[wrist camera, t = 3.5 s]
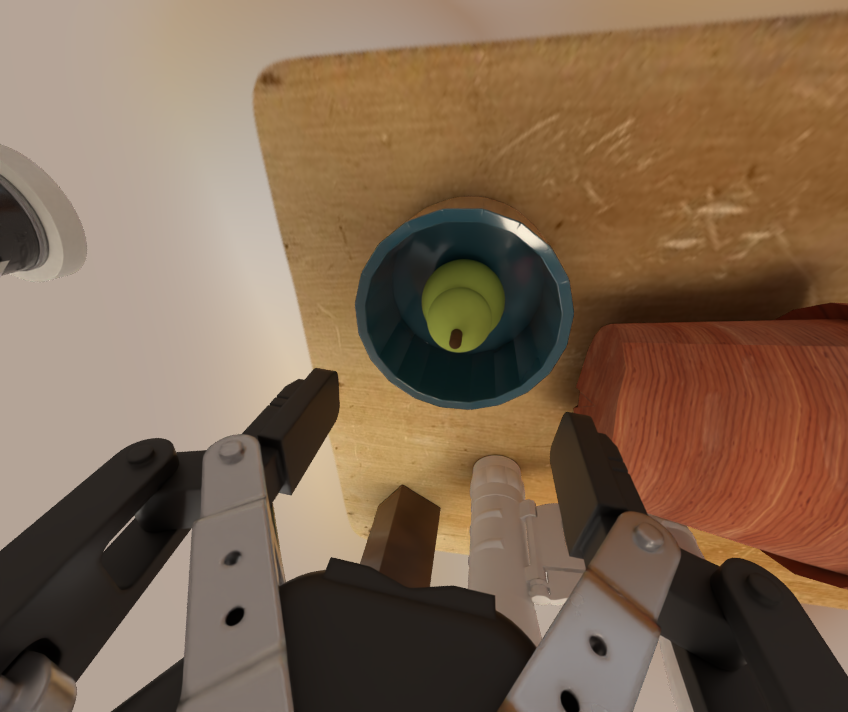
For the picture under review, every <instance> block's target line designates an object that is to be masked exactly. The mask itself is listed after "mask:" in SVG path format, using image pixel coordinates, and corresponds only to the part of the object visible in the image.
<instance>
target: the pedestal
mask: <svg viewBox="0 0 848 712" xmlns="http://www.w3.org/2000/svg"><path fill="white" fill-rule="evenodd" d="M439 516H440V508H439V507H438V506H436V505H434V504H433V503H431V502H430V501H428V500H426V499H425V498H423V497H421V496H420V495H418V494H416V493H415V492H413V491H412V490H410V489H408V488H407V487H405V486H403V485H402V486H401V487H399V488H398V489H397V490H396V491H395V492H394V493H393V494H392V495H390V496H389V497H388V498H387V499H386V500H385V501H384V502H383V503H381V504H380V505H379V506H378V509H377V512H376V515H375V518H374V522H373V525H372V528H371V531H370V534H369V537H368V540H367V543H366V547H365V550H364V553H363V556H362V559H361V562H360V564H362V565H367V566H370V567H372V568H374V569H376V570H377V571H379V572H381V573H383V574H384V575H386V576H388V577H390V578H391V579H393V580H395V581H397V582H399V583H400V584H402V585H404V586H406V587H409V588H420V587H430V582H431V574H432V567H433V560H434V552H435V545H436V538H437V531H438V523H439Z"/></svg>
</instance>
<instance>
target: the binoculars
mask: <svg viewBox="0 0 848 712" xmlns="http://www.w3.org/2000/svg"><path fill="white" fill-rule="evenodd" d="M470 496H471V499H472V501H471V513H472V514H471V526H470V554H469V559H468V565H469V578H468V589H470V590H475V591H479V592H483V593H488V594H492V595H495V604H496V611H498V612H500V613H502V614H503V615H505V616H506V617H507V618H509V619H510V620H512V621H513V622H514V623H515V624H516V625H517V626H518V627H519V628H521V629H522V630H523V632H524V633H525V634H526V635H527V636H528V637H529V638H530V639H531V640H532V642H533V643H534V644H535V646H536V647H538V645H539V643H540V642H541V640H542V637H541V633H540V629H539V625H538V620H537V616H536V611H535V609H534V603H535V604H537V605H547V604H550V603H551V605H561V604H564V603H565V602H566V600H567V599H568V597H569V595H570V594H571V592H572V591H573V589H574V587H575V586H576V584H577V583H578V581H579V579H580V578H581V576H582V575H583V573H584V571H585V570H586V567H585V563H584V559H579V558H575V557H570V556H569V552H568V547H567V543H566V544H565V542H566V538H565V539H564V537H565V533H564V534H563V532H564V528H563V523H562V518H561V513H560V508H559V503H551V504H545V505H540V506H536V504H535V502H534V501H533V500H529V499H528V500H525V489H524V484H523V482H522V479H521V471H520V468H519V466H518V465H517V463H515V462H514V461H513V460H511V459H510V458H507V457H504V456H499V455H491V456H486V457H483V458H481V459H480V460H478V461H477V462H476V463H475V465H474V467H473V478H472V480H471V486H470ZM647 514H648V513H647ZM648 516H650V517H652V518H653V519H655V520H657V521H658V522H659V523H661V524H662V525H663V526H664V527H666V528H667V529H668V530H669V532H670V533H671V534H672V535H673V536H674V538H675V539H676V541H677V543H678V545H679V547H680V548H682V549H684V550H685V551H687V552H690V553H692V554H694V555H696V556H698V557H700V558H702V559H705V558H704V556H703V554H702V553H701V551H700V549H699V547H698V545H697V543H696V539H695V537H694V536H693V534H692V532H691V531H690V530H689V529H688V527H687V526H686V525H683V524H680V523H676V522H673V521H670V520H667V519H664V518H661V517H658V516H655V515H651V514H648ZM562 528H563V529H562ZM526 531H527V533H526ZM527 541H528V542H527ZM566 547H567V548H566ZM528 550H529V552H528ZM529 560H530V562H529ZM545 572H547V579H548V583H547V581H546V573H545ZM548 591H549V592H548ZM549 593H550V595H549ZM659 644H660V648H661V652H662V657H663V661H664V666H665V670H666V674H667V679H668V683H669V687H670V691H671V695H672V697H673V700H674V703H675V706H676V709H677V712H694V711H693V708H692V705H691V702H690V699H689V696H688V693H687V690H686V687H685V684H684V681H683V678H682V675H681V672H680V669H679V666H678V663H677V660H676V657H675V654H674V651H673V647H672V644H671V641H670V640H668V639H666V638H664V637H662V636H661V635H660V637H659Z"/></svg>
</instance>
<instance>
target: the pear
mask: <svg viewBox="0 0 848 712" xmlns="http://www.w3.org/2000/svg"><path fill="white" fill-rule="evenodd" d="M504 306H505V294H504V290H503V286H502V284H501V282H500V280H499V278H498V276H497V275H496V274H495V273H494V272H493V271H492V270H491V269H490V268H489V267H487V266H486V265H484V264H482V263H480V262H478V261H475V260H470V259H458V260H453V261H451V262H448V263H446V264H444V265H442V266H440V267H439V268H438V269H436V270H435V271H434V272H433V274H432V275H431V276H430V277H429V279H428V280H427V282H426V284H425V286H424V290H423V293H422V310H423V314H424V317H425V319H426V321H427V325H428V330H429V332H430V335H431V336H432V338H433V339H434V341H435V342H436V343H437V344H438V345H439V346H441V347H442V348H444V349H446V350H448V351H452V352H467V351H470V350H473V349H475V348H477V347H478V346H479V345H481V344H482V343H483V342H484V341H485V339H486V338H487V336H488V335H489V333H490V332H491V331H492V330H493V329H494V328H495V327H496V326H497V324H498V323H499V321H500V319H501V317H502V315H503V311H504Z"/></svg>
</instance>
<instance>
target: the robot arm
mask: <svg viewBox="0 0 848 712" xmlns="http://www.w3.org/2000/svg"><path fill="white" fill-rule="evenodd" d="M48 255H49V243H48V238H47V235H46V231H45V229H44V226H43V224H42V222H41V220H40V218H39V217H38V215H37V213H36V212H35V210H34V209H33V207H32V206H31V204H30V203H29V202H28V200H27V199H26V198H25V197H24V196H23V195H22V193H21V192H20V191H19V190H18V189H17V188H16V187H15V186H14V185H13V184H12V183H11V182H9V181H8V180H7V179H6V178H5V177H3V176H2V175H1V174H0V276H2V275H6V274H11V273H15V272H19V271H29V270H34V269H37V268H40V267H41V266H43V265H44V264H45V262H46V261H47V259H48ZM339 407H340V402H339V383H338V374H337V372H336V371H331V370H325V369H320V368H315V369H313V371H312V372H311V373H310V374H309V375H308V376H307V378H306V379H305V380H302V379H298V380H296V381H294V382H293V383H291V384H289V385H287V386H285V388H284V389H283V390H282V391H281V392H280V393H279V394H278V395H277V398H274V399H273V401H272V402H271V403H270V405H268V406H267V407H266V408H265V409H264V410H263V411H262V413H261V414H260V415H259V416H258V417H257V418H256V419H255V420H254V421H253V422H252V424H251V425H250V426H249V427H248V428H247V429H246V430H245V431H244V432H243V433H242V434H238V435H232V436H228V437H225V438H223V439H221V440H219V441H217V442H215V443H214V444H213V445H211V446H210V447H209V448H208V449H207V450H204V451H189V452H176V451H175V448H174V446H173V444H172V443H171V442H170V441H169V440H166V439H162V438H153V439H147V440H143V441H140V442H137V443H134V444H131V445H130V446H128V447H126V448H124V449H123V450H121V451H120V452H119V453H117V454H116V455H115V456H113V457H112V458H111V459H110V460H109V461H107V462H106V463H105V464H104V465H103V466H102V467H100V468H99V469H98V470H97V471H95V472H94V473H93V474H92V475H91V476H89V477H88V478H87V479H86V480H85V481H83V482H82V483H81V484H80V485H79V486H77V487H76V488H75V489H74V490H73V491H72V492H70V493H69V494H68V495H67V496H65V497H64V498H63V499H62V500H61V501H59V502H58V503H57V504H56V505H55V506H54V507H52V508H51V509H50V510H49V511H48V512H46V513H45V514H44V515H43V516H42V517H40V518H39V519H38V520H37V521H36V522H34V524H32V525H31V526H30V527H28V528H27V529H26V530H25V531H24V532H22V533H21V534H20V535H19V536H18V537H17V538H15V539H14V540H13V541H12V542H10V543H9V544H8V545H7V546H6V547H4V548H3V549H2V550H1V551H0V712H72V710H73V707H74V704H75V701H76V695H77V687H76V682H77V680H78V679H79V678H80V676H81V675H82V674H83V672H84V671H85V670H86V668H87V667H88V666H89V664H90V663H91V662H92V660H93V659H94V658H95V656H96V655H97V654H98V652H99V651H100V650H101V648H102V647H103V646H104V644H105V643H106V642H107V640H108V639H109V638H110V636H111V635H112V634H113V632H114V631H115V630H116V628H117V627H118V626H119V624H120V623H121V622H122V620H123V619H124V618H125V616H126V615H127V614H128V612H129V611H130V610H131V608H132V607H133V606H134V604H135V603H136V601H137V600H138V599H139V598H140V596H141V595H142V594H143V592H144V591H145V590H146V588H147V587H148V586H149V584H150V583H151V582H152V580H153V579H154V578H155V576H156V575H157V574H158V572H159V571H160V570H161V568H162V567H163V566H164V564H165V563H166V562H167V560H168V559H169V558H170V556H171V555H172V553H173V552H174V551H175V549H176V548H177V547H178V546H179V544H180V543H181V542H182V540H183V539H184V538H185V536H186V535H187V534H188V532H189V531H190V530H191V528H192V537H191V555H190V570H189V586H188V603H187V620H186V636H185V652H184V657H183V658H182V659H181V660H179V661H178V662H177V663H175V664H174V665H173V666H171V667H170V668H169V669H168V670H166V671H165V672H163V673H162V674H161V675H159V676H158V677H157V678H155V679H154V680H153V681H151V682H150V683H149V684H147V685H146V686H145V687H143V688H142V689H141V690H139V691H138V692H137V693H135V694H134V695H133V696H131V697H130V698H129V699H127V700H126V701H125V702H123V703H122V704H121V705H119V706H118V707H117V708H115V709H114V710H113V711H111V712H633V710H634V707H635V704H636V701H637V699H638V696H639V693H640V690H641V688H642V684H643V682H644V679H645V676H646V674H647V671H648V668H649V665H650V662H651V659H652V657H653V654H654V651H655V648H656V646H657V643H658V640H659V637H660V635H661V636H662V637H664V638H666V639H668V640H670V641H671V644H672V647H673V651H674V654H675V657H676V660H677V663H678V666H679V669H680V672H681V675H682V678H683V681H684V684H685V687H686V690H687V693H688V696H689V699H690V702H691V705H692V708H693V711H694V712H848V676H847V674H846V673H845V672H844V670H843V668H842V667H841V665H840V664H839V663H838V661H837V659H836V658H835V656H834V655H833V653H832V652H831V650H830V649H829V647H828V645H827V644H826V642H825V641H824V639H823V638H822V637H821V635H820V633H819V632H818V630H817V629H816V627H815V626H814V624H813V623H812V621H811V620H810V618H809V616H808V615H807V614H806V612H805V611H804V609H803V607H802V606H801V604H800V603H799V601H798V600H797V598H796V597H795V596H794V594H793V593H792V592H791V591H790V590H789V588H788V587H787V586H786V585H785V584H784V583H783V582H781V581H780V580H779V579H778V578H777V577H776V576H774V575H773V574H772V573H770V572H769V571H767V570H766V569H764V568H763V567H761V566H759V565H757V564H755V563H753V562H750V561H748V560H745V559H740V558H730V559H727V560H726V561H725V562H724V563H723V564H722V565H721V566H718V565H715V564H713V563H711V562H709V561H707V560H705V559H702V558H700V557H698V556H696V555H694V554H692V553H690V552H687V551H685V550H684V549H682V548H680V547H679V545H678V543H677V541H676V539H675V538H674V536H673V535H672V534H671V533H670V532H669V530H668V529H667V528H666V527H664V526H663V525H662V524H661V523H659V522H658V521H657V520H655V519H653V518H652V517H650V516H648V514H647V511H646V509H645V507H644V505H643V502H642V500H641V498H640V496H639V494H638V491H637V489H636V487H635V485H634V483H633V480H632V478H631V476H630V474H628V469H627V467H626V465H625V463H624V462H623V458H622V456H621V454H620V452H619V449H618V447H617V446H616V445H615V444H614V443H613V442H612V440H611V439H610V438H609V437H608V436H607V435H606V434H603V433H598V432H597V429H596V427H595V424H594V422H593V419H592V417H591V416H588V415H582V414H577V413H571V412H566V413H565V414H564V415H563V417H562V420H561V422H560V425H559V427H558V430H557V433H556V435H555V438H554V440H553V443H552V446H551V451H550V464H551V469H552V474H553V479H554V483H555V488H556V493H557V498H558V503H559V508H560V513H561V518H562V523H563V528H564V533H565V538H566V543H567V547H568V552H569V556H570V557H575V558H579V559H584V563H585V567H586V570H585V571H584V573H583V575H582V576H581V578H580V579H579V581H578V583H577V584H576V586H575V587H574V589H573V591H572V592H571V594H570V595H569V597H568V599H567V600H566V602H565V603H564V605H563V607H562V608H561V610H560V611H559V613H558V615H557V616H556V618H555V619H554V621H553V623H552V624H551V626H550V627H549V629H548V631H547V632H546V634H545V636H544V637H543V639H542V640H541V642H540V643H539V645H538V647H536V646H535V644H534V643H533V642H532V640H531V639H530V638H529V637H528V636H527V635H526V634H525V633H524V632H523V630H522V629H521V628H519V627H518V626H517V625H516V624H515V623H514V622H513V621H512V620H510V619H509V618H507V617H506V616H505V615H503V614H502V613H500V612H498V611H496V604H495V595H492V594H488V593H483V592H479V591H475V590H470V589H466V588H461V587H457V586H439V587H420V588H409V587H406V586H404V585H402V584H400V583H399V582H397V581H395V580H393V579H391V578H390V577H388V576H386V575H384V574H383V573H381V572H379V571H377V570H376V569H374V568H372V567H370V566H367V565H362V564H358V563H354V562H349V561H345V560H341V559H336V558H332V557H331V558H330V561H329V563H328V566H327V568H326V570H322V571H316V572H310V573H307V574H304V575H301V576H298V577H296V578H294V579H292V580H289V581H287V582H286V580H285V575H284V570H283V564H282V558H281V552H280V546H279V539H278V533H277V527H276V520H275V513H274V507H273V503H272V502H273V501H274V499H275V498H276V496H277V495H278V493H283V494H287V495H292V493H293V492H294V490H295V488H296V487H297V485H298V483H299V482H300V480H301V478H302V477H303V475H304V473H305V472H306V470H307V468H308V466H309V465H310V463H311V462H312V460H313V458H314V457H315V455H316V453H317V452H318V450H319V448H320V447H321V445H322V443H323V442H324V440H325V438H326V437H327V435H328V433H329V432H330V430H331V428H332V427H333V425H334V423H335V422H336V420H337V417H338V413H339ZM133 516H135V517H136V518H135V519H134V520H133V521H132V522H131V523H130V524H129V525H128V526H127V527H126V528H125V530H124V531H123V532H122V533H121V534H120V535H119V536H118V537H117V538H116V539H115V540H114V541H113V543H111V545H110V546H109V547H108V548H107V549H106V550H105V551H104V549H105V548H106V546H107V545H108V543H109V542H110V541H111V540H112V539H113V537H114V536H115V535H116V534H117V533H118V532H119V531H120V530H121V529H122V528H123V527H124V526H125V525H126V523H128V521H129V520H130V519H131V518H132V517H133ZM103 551H104V552H103Z"/></svg>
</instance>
